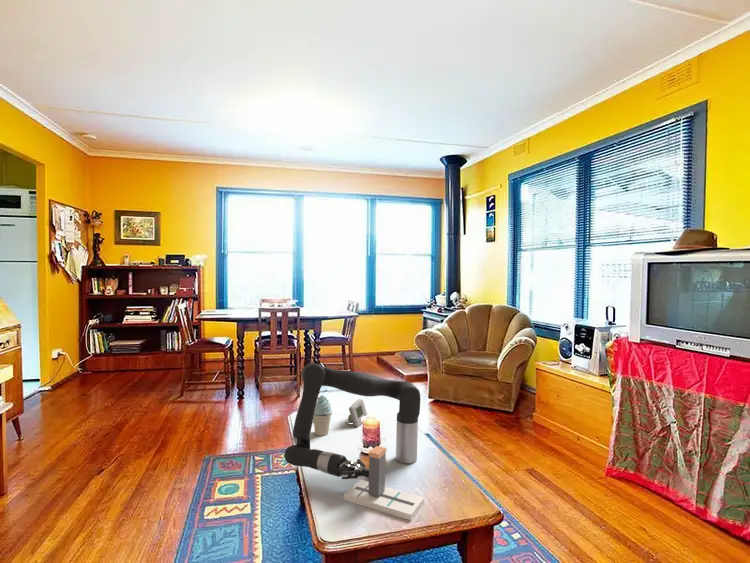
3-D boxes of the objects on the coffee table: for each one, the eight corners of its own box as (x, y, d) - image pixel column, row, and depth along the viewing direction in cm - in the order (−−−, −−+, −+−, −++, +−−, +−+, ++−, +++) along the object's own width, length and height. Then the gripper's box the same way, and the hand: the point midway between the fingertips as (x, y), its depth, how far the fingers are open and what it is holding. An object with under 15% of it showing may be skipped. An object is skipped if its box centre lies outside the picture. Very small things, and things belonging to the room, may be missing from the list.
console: (360, 484, 165) (360, 479, 165) (423, 503, 153) (424, 497, 153) (343, 499, 154) (344, 493, 154) (411, 520, 142) (411, 514, 142)
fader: (375, 487, 158) (376, 445, 158) (385, 490, 156) (386, 448, 156) (367, 495, 153) (368, 452, 152) (377, 498, 151) (378, 454, 151)
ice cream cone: (328, 428, 220) (329, 389, 220) (333, 436, 210) (334, 396, 209) (309, 430, 217) (309, 391, 216) (313, 438, 207) (313, 397, 206)
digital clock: (356, 428, 221) (357, 408, 220) (342, 425, 225) (342, 405, 225) (372, 419, 235) (373, 400, 234) (358, 416, 239) (359, 397, 239)
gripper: (322, 460, 157) (363, 472, 149) (341, 447, 169) (380, 457, 161) (321, 480, 158) (363, 493, 150) (340, 466, 169) (380, 477, 161)
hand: (372, 474), depth 155 cm, fingers closed
